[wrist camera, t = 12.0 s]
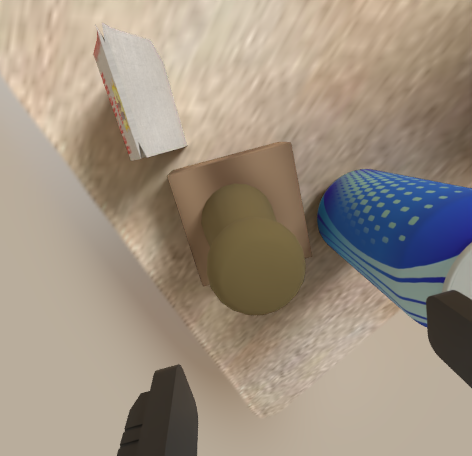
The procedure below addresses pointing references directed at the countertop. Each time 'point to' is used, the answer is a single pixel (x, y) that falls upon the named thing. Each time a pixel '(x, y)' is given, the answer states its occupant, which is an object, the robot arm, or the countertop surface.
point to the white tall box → (138, 93)
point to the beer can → (401, 234)
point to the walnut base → (240, 172)
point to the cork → (250, 252)
